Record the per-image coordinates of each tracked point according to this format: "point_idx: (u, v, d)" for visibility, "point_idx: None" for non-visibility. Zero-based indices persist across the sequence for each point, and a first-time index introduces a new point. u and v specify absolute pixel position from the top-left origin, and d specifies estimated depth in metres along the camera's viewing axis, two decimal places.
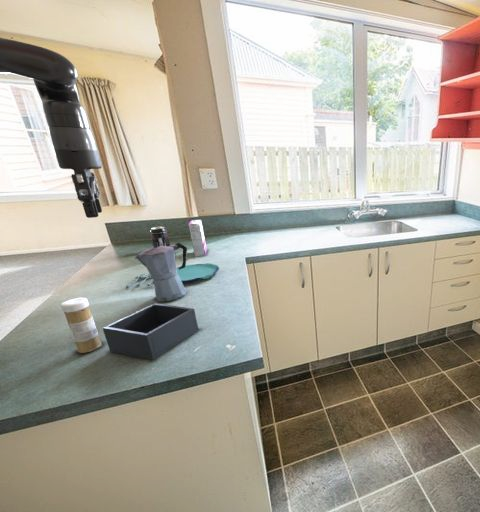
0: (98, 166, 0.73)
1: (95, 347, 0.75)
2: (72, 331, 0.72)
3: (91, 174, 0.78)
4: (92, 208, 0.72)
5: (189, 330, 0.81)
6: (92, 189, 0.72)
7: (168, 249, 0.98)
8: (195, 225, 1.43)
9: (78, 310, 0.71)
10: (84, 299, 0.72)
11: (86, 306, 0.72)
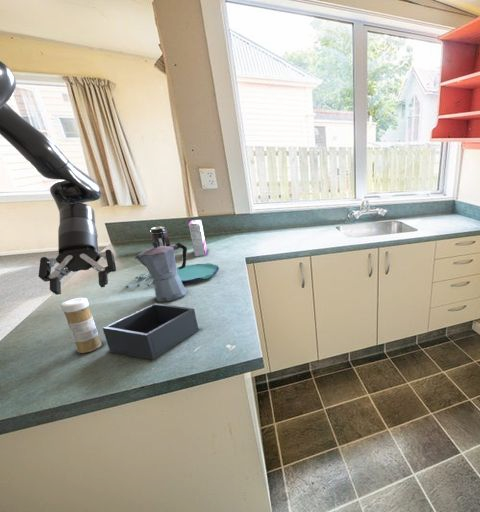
0: None
1: (95, 347, 0.75)
2: (72, 331, 0.72)
3: None
4: (107, 278, 0.80)
5: (189, 330, 0.81)
6: None
7: (168, 249, 0.98)
8: (195, 225, 1.43)
9: (78, 310, 0.71)
10: (84, 299, 0.72)
11: (86, 306, 0.72)
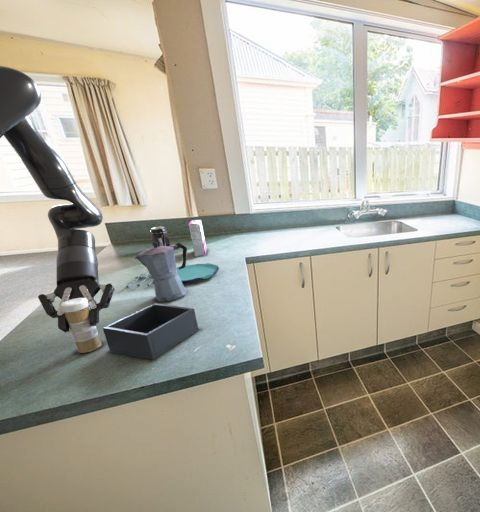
0: None
1: (95, 347, 0.75)
2: (72, 331, 0.72)
3: None
4: (98, 316, 0.75)
5: (189, 330, 0.81)
6: None
7: (168, 249, 0.98)
8: (195, 225, 1.43)
9: (78, 310, 0.71)
10: (84, 299, 0.72)
11: (86, 306, 0.72)
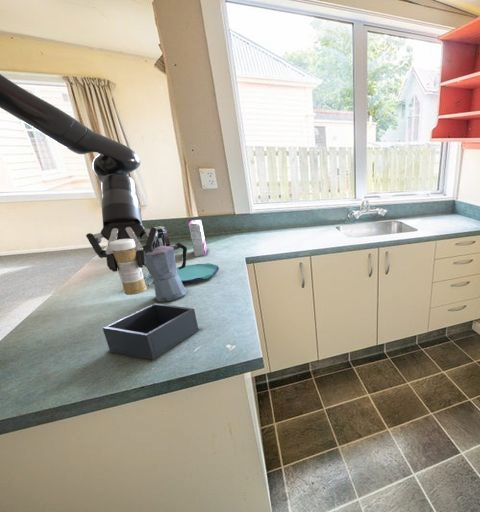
0: None
1: (141, 290, 0.74)
2: (120, 271, 0.71)
3: None
4: None
5: (189, 330, 0.81)
6: None
7: (168, 249, 0.98)
8: (195, 225, 1.43)
9: (126, 249, 0.70)
10: (131, 239, 0.71)
11: (134, 246, 0.71)
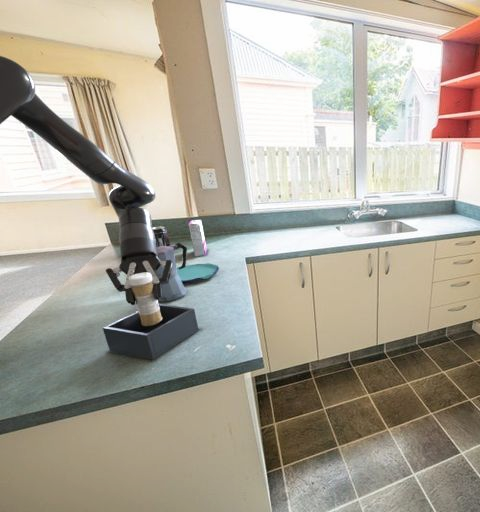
0: None
1: (158, 321, 0.77)
2: (138, 304, 0.74)
3: None
4: None
5: (189, 330, 0.81)
6: None
7: (168, 249, 0.98)
8: (195, 225, 1.43)
9: (144, 284, 0.73)
10: (149, 273, 0.74)
11: (151, 280, 0.74)
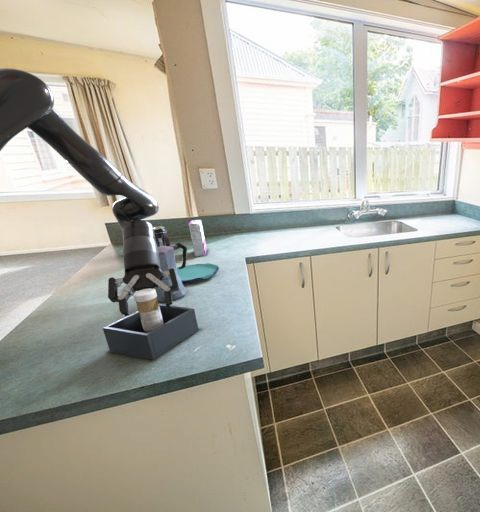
0: None
1: None
2: (142, 320, 0.75)
3: None
4: None
5: (189, 330, 0.81)
6: None
7: (168, 249, 0.98)
8: (195, 225, 1.43)
9: (149, 300, 0.74)
10: (153, 290, 0.76)
11: (155, 296, 0.76)
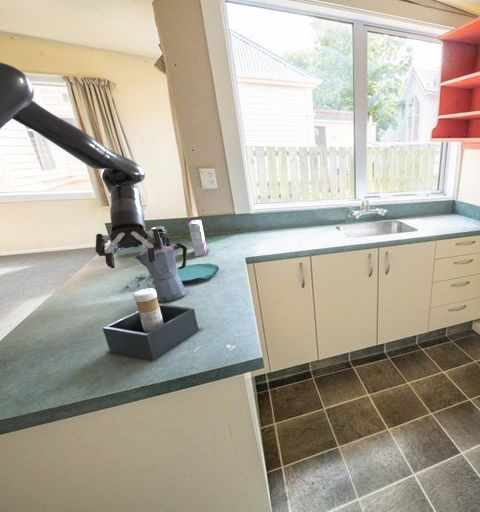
0: None
1: None
2: (142, 320, 0.75)
3: None
4: None
5: (189, 330, 0.81)
6: None
7: (168, 249, 0.98)
8: (195, 225, 1.43)
9: (149, 300, 0.74)
10: (153, 290, 0.76)
11: (155, 296, 0.76)
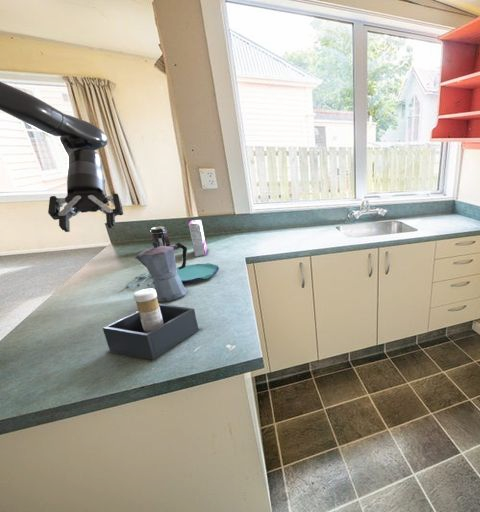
0: None
1: None
2: (142, 320, 0.75)
3: None
4: (114, 220, 0.82)
5: (189, 330, 0.81)
6: None
7: (168, 249, 0.98)
8: (195, 225, 1.43)
9: (149, 300, 0.74)
10: (153, 290, 0.76)
11: (155, 296, 0.76)
